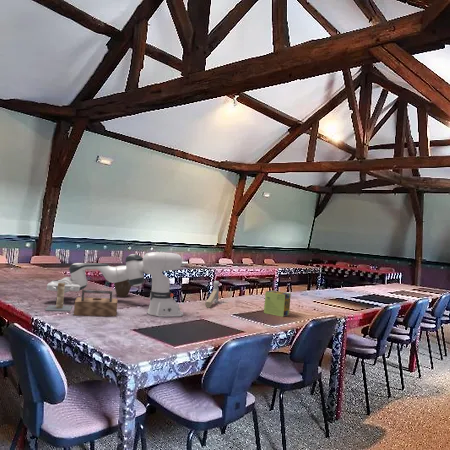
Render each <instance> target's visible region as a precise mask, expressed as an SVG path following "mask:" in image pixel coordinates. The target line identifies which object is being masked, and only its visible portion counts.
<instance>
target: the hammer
mask: <svg viewBox="0 0 450 450" xmlns="http://www.w3.org/2000/svg"><path fill="white" fill-rule="evenodd" d="M212 285H213V289H212V291H211V293H210V295H209V297H208V298H207V300H206V301H205V302H204V303H205V304H204V306H205V308H207V309H210V308H211V307H212V305H213V304H214V303H218V302H219V297H220V296H219V292H220V290H219V286H220V281H219V280H214V281H213V284H212Z"/></svg>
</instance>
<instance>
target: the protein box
mask: <svg viewBox="0 0 450 450" xmlns="http://www.w3.org/2000/svg"><path fill="white" fill-rule="evenodd" d="M291 294H292V293H291V292H284V291H278V290H268V291H265V295H264V307H263V314H267V315H271V316H272V315H273V316H277V317H283V318H284V317H287V316H290V307H291V298H292V297H291V296H292V295H291Z"/></svg>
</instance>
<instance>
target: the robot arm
mask: <svg viewBox="0 0 450 450" xmlns="http://www.w3.org/2000/svg"><path fill="white" fill-rule="evenodd" d="M182 265H183V258H182V256H181V254H178V253H174V252H161V251H159V252H158V251H152V252H151V251H150V252H146V253H145V254H144V255H143V257H142V256H141V255H140V254H136V253H132V254H129V255H127V256H126V257H125V265H118V266H111V265H109V264H108V263H104V262H102V263H101V262H96V263H94V262H93V263H92V262H91V263H90V262H89V263H88V262H87V263H85V262H84V263H83V262H74V263H72V264H71V265H70V266H69V268H68V271H69V274H70V276H69V277H68V276H65V277H63V278H61V279H59V280H51V281H50V282H48V283H47V284H46V291H51V292H52V291H53V292H57V290H58V283H65V289H64V294H67V293H69V292H80V291H82V290H85V288H87V287H88V279H87V275H86V274H87V273H86V270H98V271H99V272H101V274H102V276H103V277H104V279H105V280H106V281H107V282H109V283H113V284H114V283H116V282H121V281H125V280H128V279H129V281H127V282H129V284H130V285H131V287H132V286H134V287H139V286H141V285H142V284H144V282H145V276H144V274H146V275H150V276H151V290H150V293H149V294H150V295H149V297H150V298H149V299H150V301H149V306H148V310H147V314H148V315H149V316H150V315H151V316H156V317H159V318H163V317H165V318H166V317H167V318H168V317H169V318H170V317H172V318H174V317H183V315H184V312H183V311H181V308H180V304H179V303H178V302H177V301H175V299H174V298H173V297H174V293H172V292H170V284H171V280H170V278H169V277H168V276H166V275H165V274H164V273H163V272H169V271H175V270H179V269H181V267H182Z"/></svg>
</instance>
